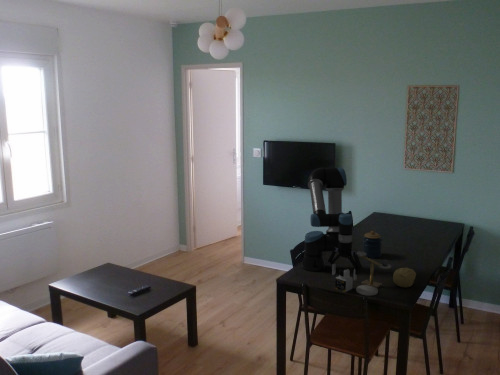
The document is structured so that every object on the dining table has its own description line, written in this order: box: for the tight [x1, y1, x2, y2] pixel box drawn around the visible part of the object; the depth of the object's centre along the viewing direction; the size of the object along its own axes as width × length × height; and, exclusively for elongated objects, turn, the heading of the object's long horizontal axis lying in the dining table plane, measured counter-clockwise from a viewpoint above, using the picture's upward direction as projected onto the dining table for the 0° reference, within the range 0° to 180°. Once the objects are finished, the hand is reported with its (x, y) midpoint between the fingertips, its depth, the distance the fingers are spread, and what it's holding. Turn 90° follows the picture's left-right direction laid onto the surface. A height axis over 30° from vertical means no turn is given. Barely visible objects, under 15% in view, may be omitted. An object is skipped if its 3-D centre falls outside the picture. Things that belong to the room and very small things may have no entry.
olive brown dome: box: [392, 267, 417, 289], centre depth 272 cm, size 11×12×11 cm
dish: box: [355, 284, 379, 297], centre depth 265 cm, size 12×12×1 cm
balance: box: [356, 250, 392, 290], centre depth 272 cm, size 22×7×18 cm, turn 51°
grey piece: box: [334, 267, 354, 293], centre depth 268 cm, size 7×7×12 cm
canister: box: [362, 230, 383, 259], centre depth 322 cm, size 13×13×18 cm
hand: (344, 277), depth 267 cm, fingers open, 13 cm apart
